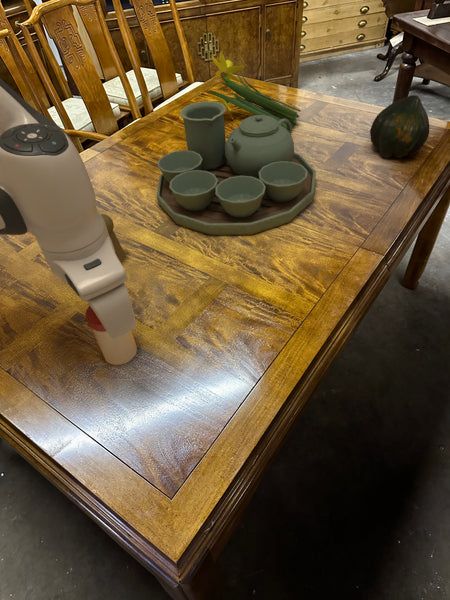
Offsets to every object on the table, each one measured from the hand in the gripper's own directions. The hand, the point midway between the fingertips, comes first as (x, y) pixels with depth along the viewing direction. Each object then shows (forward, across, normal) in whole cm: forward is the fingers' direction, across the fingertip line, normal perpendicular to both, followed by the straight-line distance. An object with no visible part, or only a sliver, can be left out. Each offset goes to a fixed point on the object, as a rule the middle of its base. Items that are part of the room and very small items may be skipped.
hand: (107, 317), depth 67 cm
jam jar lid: (-1, 0, 0) cm, 1 cm away
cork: (+9, -25, +9) cm, 28 cm away
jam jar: (+9, 0, 0) cm, 9 cm away
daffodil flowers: (+9, -61, +76) cm, 97 cm away
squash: (+9, -17, +91) cm, 93 cm away
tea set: (+9, -29, +46) cm, 55 cm away
